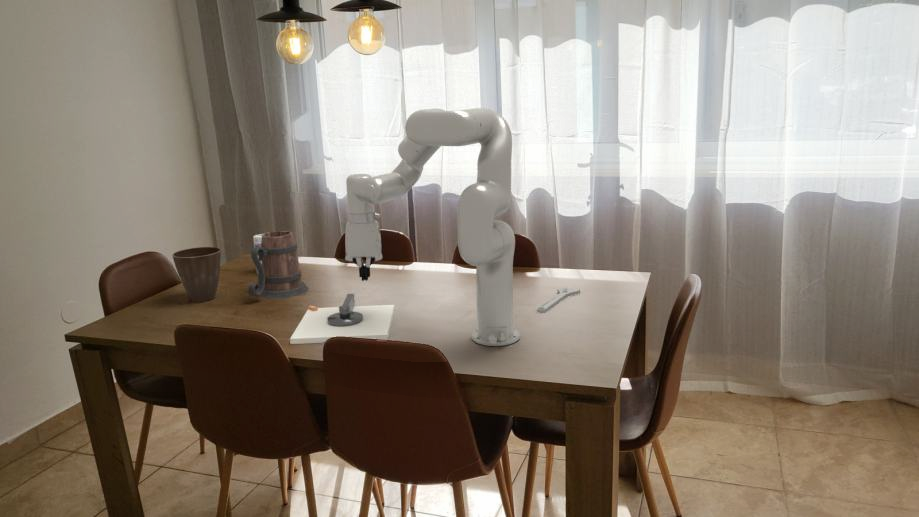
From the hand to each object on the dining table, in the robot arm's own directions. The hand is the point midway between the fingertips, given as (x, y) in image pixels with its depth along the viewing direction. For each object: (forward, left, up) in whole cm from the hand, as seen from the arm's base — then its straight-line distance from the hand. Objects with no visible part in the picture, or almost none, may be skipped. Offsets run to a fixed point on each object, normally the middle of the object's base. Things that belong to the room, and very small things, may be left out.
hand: (365, 279), depth 205 cm
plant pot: (+26, +58, -12) cm, 64 cm away
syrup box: (+56, +43, -12) cm, 72 cm away
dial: (-3, +5, -10) cm, 12 cm away
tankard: (+28, +34, -12) cm, 45 cm away
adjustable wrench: (+8, -57, -12) cm, 59 cm away
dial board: (-5, +5, -11) cm, 14 cm away
